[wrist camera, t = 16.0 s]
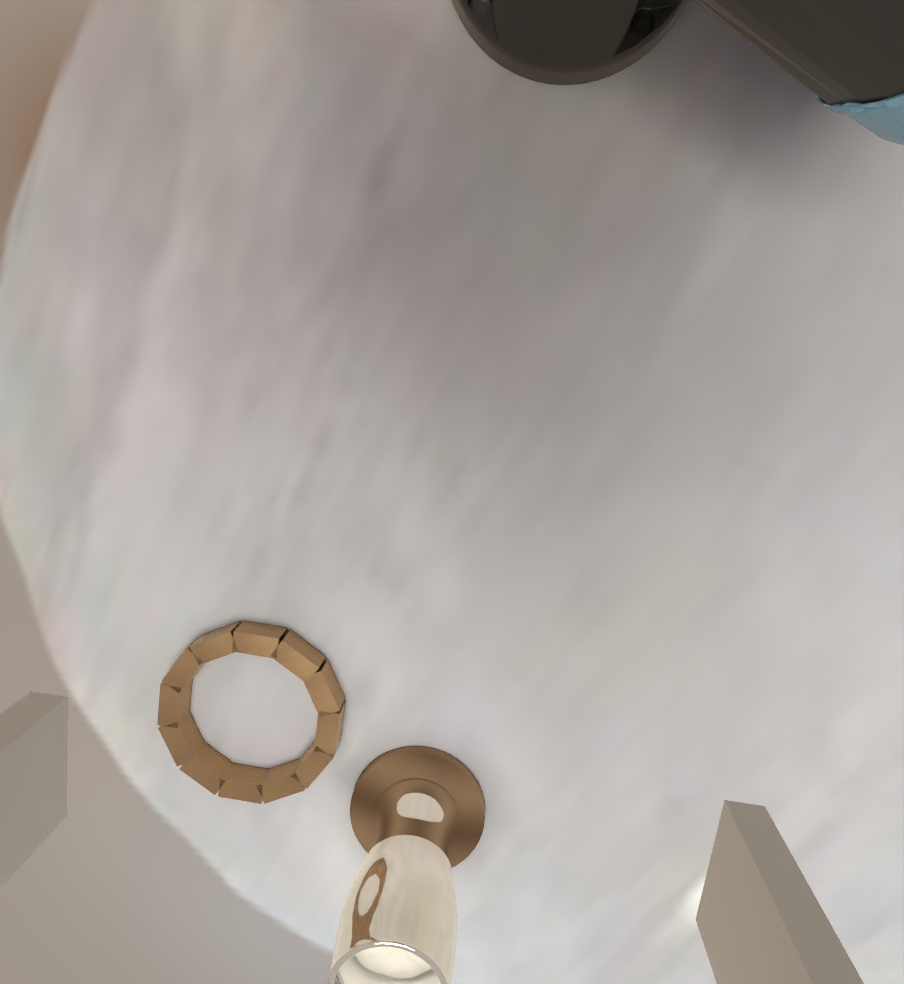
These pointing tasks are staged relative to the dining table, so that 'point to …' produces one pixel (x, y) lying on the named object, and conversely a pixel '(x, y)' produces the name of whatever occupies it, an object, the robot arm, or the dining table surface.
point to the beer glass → (402, 894)
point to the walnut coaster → (426, 767)
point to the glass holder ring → (213, 765)
